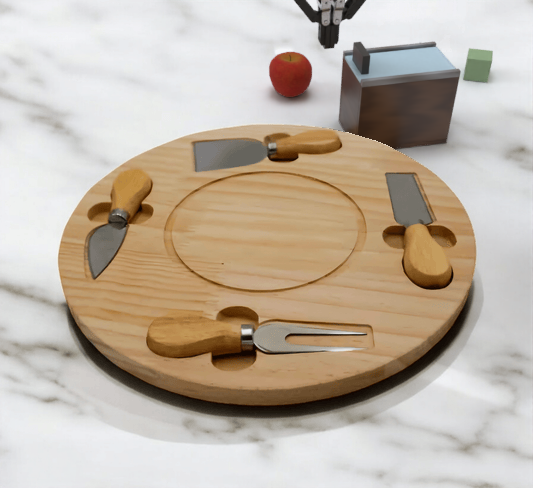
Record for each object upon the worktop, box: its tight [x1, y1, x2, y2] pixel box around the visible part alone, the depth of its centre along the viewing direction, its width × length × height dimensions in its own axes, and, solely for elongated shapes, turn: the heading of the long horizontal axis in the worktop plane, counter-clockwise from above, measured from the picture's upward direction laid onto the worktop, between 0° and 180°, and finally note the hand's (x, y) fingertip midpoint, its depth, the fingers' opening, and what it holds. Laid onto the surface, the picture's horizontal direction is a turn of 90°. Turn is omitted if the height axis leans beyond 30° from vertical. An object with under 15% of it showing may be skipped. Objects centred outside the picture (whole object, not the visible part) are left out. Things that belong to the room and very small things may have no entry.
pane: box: [345, 41, 457, 83], centre depth 102 cm, size 16×8×4 cm, turn 101°
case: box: [338, 41, 462, 150], centre depth 107 cm, size 16×11×13 cm
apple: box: [268, 51, 313, 98], centre depth 119 cm, size 8×8×8 cm
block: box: [463, 47, 494, 83], centre depth 124 cm, size 4×4×4 cm
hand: (328, 46), depth 98 cm, fingers closed
